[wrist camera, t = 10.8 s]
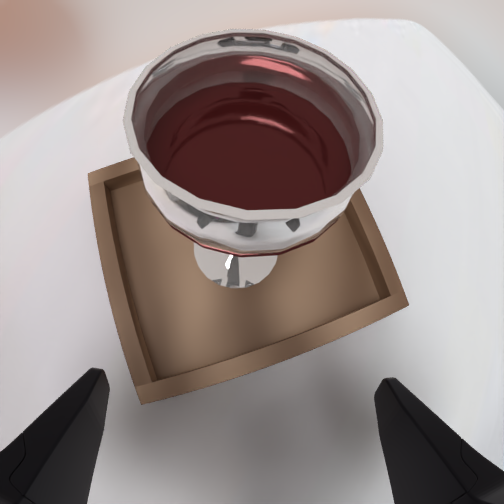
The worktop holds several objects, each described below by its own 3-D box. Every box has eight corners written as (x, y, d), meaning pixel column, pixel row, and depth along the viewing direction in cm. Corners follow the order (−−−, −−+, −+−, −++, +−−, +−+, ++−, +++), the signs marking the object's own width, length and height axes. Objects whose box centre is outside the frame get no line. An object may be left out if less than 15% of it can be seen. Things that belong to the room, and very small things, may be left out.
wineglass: (231, 174, 20) (245, 9, 9) (315, 242, 19) (420, 114, 8) (154, 250, 18) (72, 114, 7) (242, 329, 17) (280, 295, 6)
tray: (149, 398, 16) (141, 404, 14) (97, 187, 20) (87, 173, 18) (393, 309, 19) (409, 305, 17) (312, 130, 22) (319, 114, 20)
